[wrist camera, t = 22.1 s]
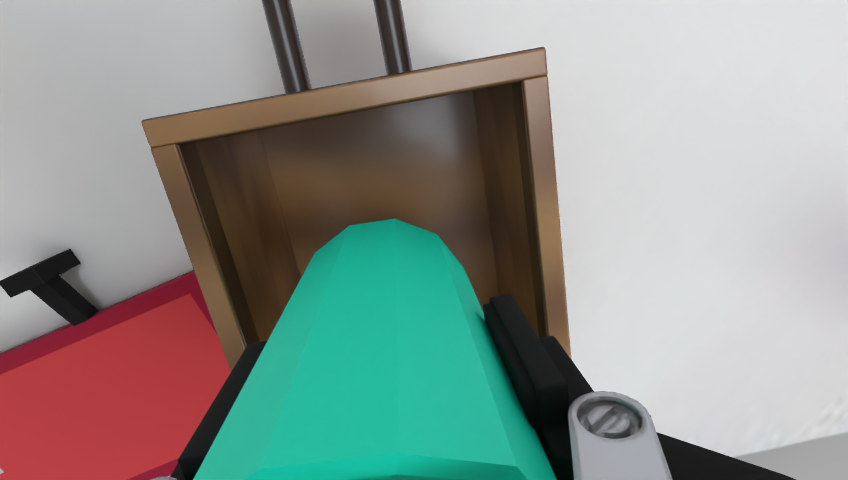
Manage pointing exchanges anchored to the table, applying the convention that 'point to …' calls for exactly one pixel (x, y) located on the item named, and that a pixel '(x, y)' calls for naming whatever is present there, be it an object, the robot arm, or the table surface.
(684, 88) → the table surface
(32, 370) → the red board with handle
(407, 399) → the candle
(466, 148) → the wooden drawer
